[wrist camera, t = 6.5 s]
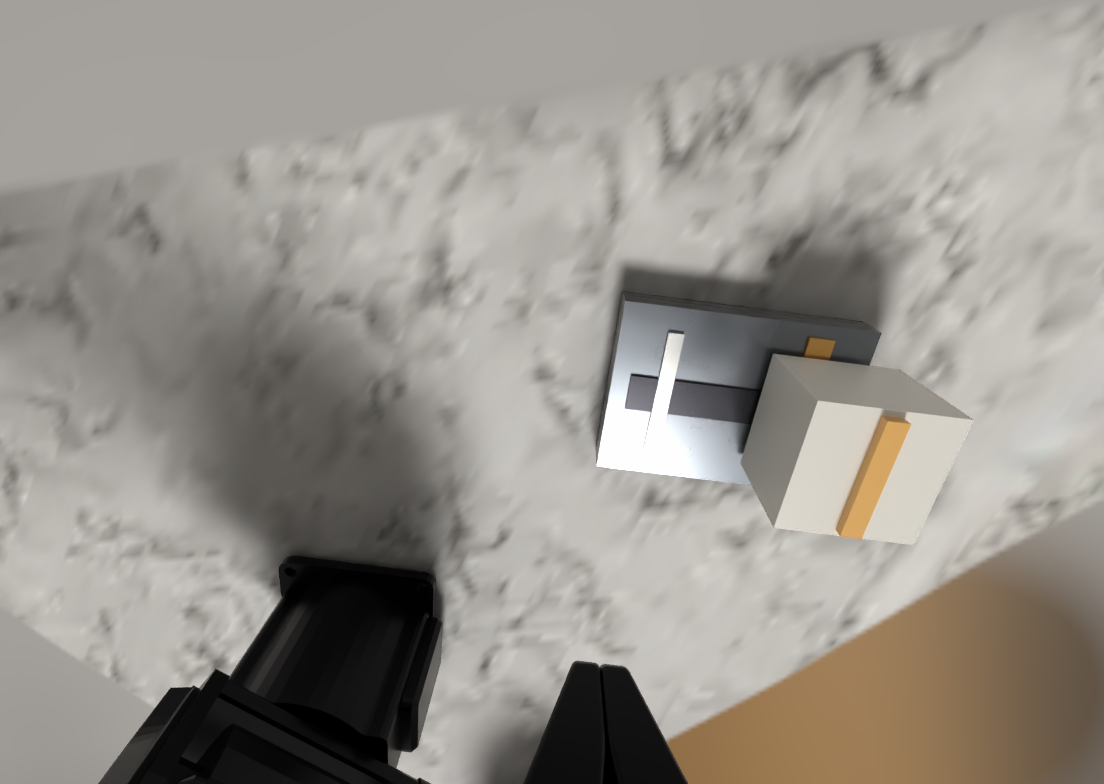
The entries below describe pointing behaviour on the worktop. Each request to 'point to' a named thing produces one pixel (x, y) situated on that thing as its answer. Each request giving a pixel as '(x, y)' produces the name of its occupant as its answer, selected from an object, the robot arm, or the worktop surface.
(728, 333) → the panel
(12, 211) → the worktop surface
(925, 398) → the block
